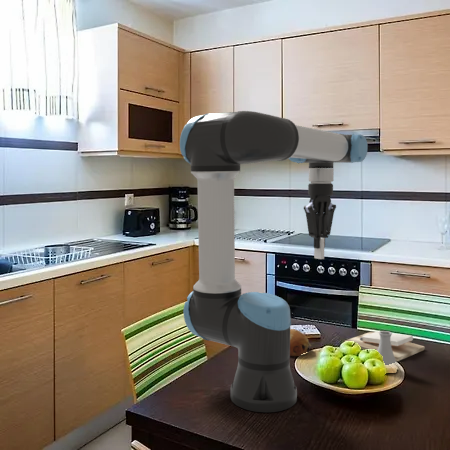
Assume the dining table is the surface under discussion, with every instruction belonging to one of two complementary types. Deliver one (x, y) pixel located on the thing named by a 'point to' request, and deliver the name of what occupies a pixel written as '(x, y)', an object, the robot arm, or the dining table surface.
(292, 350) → the brown rounded lump
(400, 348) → the board
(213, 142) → the robot arm
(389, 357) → the flask
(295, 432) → the dining table surface
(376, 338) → the tile
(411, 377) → the dining table surface
